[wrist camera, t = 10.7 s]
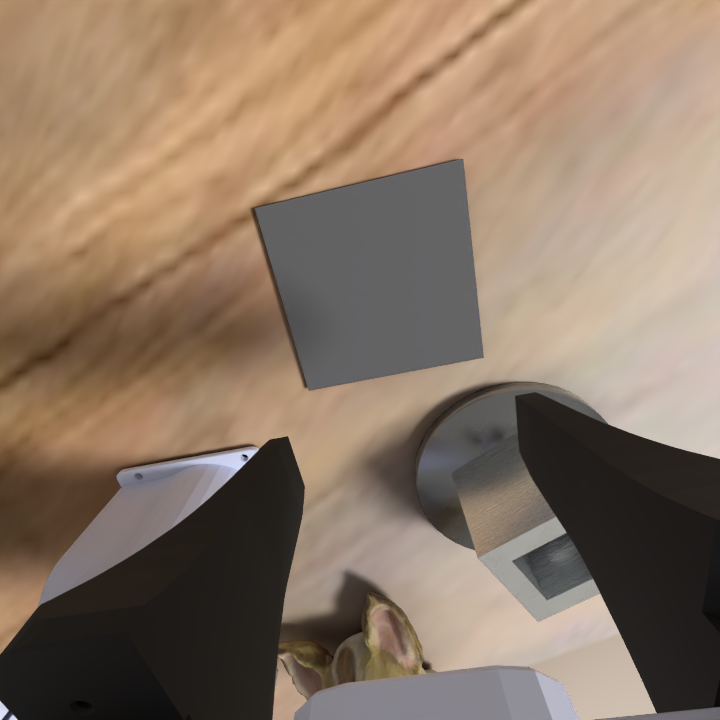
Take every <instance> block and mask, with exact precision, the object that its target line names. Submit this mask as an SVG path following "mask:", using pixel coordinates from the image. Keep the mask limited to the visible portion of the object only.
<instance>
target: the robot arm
mask: <svg viewBox="0 0 720 720" xmlns="http://www.w3.org/2000/svg"><path fill="white" fill-rule="evenodd" d="M515 403H516V417H517V430H518V444H519V452H520V454H521V457H522V459H523V461H524V463H525V465H526V467H527V470H528V472H529V474H530V476H531V478H532V480H533V481H534V483H535V484H536V486H537V488H538V489H539V491H540V492H541V494H542V495H543V497H544V499H545V500H546V502H547V503H548V505H549V506H550V508H551V509H552V511H553V512H554V514H555V516H556V517H557V519H558V520H559V522H560V523H561V525H562V526H563V528H564V529H565V531H566V532H567V534H568V536H569V537H570V539H571V540H572V542H573V543H574V545H575V547H576V548H577V550H578V552H579V553H580V555H581V557H582V559H583V561H584V562H585V564H586V566H587V568H588V570H589V572H590V574H591V576H592V578H593V580H594V582H595V584H596V586H597V588H598V590H599V591H600V593H601V595H602V598H603V600H604V602H605V604H606V606H607V608H608V610H609V612H610V614H611V616H612V618H613V620H614V622H615V624H616V626H617V628H618V630H619V632H620V634H621V636H622V638H623V640H624V642H625V645H626V647H627V649H628V651H629V653H630V655H631V657H632V660H633V662H634V664H635V666H636V668H637V670H638V672H639V674H640V677H641V679H642V681H643V683H644V685H645V688H646V690H647V692H648V694H649V697H650V699H651V701H652V703H653V706H654V708H655V710H656V712H657V714H646V715H636V716H626V717H616V718H606V719H596V720H720V459H717V458H713V457H709V456H705V455H701V454H697V453H693V452H689V451H685V450H682V449H678V448H674V447H671V446H668V445H665V444H661V443H658V442H655V441H652V440H649V439H646V438H643V437H640V436H637V435H634V434H631V433H629V432H626V431H623V430H621V429H618V428H616V427H613V426H611V425H608V424H606V423H603V422H601V421H599V420H596V419H594V418H592V417H589V416H587V415H585V414H583V413H580V412H578V411H576V410H574V409H572V408H570V407H567V406H565V405H563V404H561V403H559V402H557V401H555V400H553V399H550V398H548V397H546V396H544V395H542V394H539V393H537V392H533V393H528V394H522V395H516V396H515ZM242 454H245V455H247V456H248V457H247V458H246V457H243V456H242ZM138 473H140V474H141V475H142V476H141V475H139V474H138ZM116 478H117V481H118V482H119V484H120V486H121V488H120V490H119V491H118V492H117V493H116V494H115V495H114V497H113V498H112V499H111V500H110V501H109V502H108V504H107V505H106V506H105V507H104V508H103V509H102V510H101V512H100V513H99V514H98V515H97V516H96V517H95V519H94V520H93V521H92V522H91V523H90V524H89V526H88V527H87V528H86V529H85V530H84V531H83V533H82V534H81V535H80V536H79V537H78V538H77V540H76V541H75V542H74V543H73V544H72V545H71V547H70V548H69V549H68V550H67V551H66V552H65V554H64V555H63V556H62V557H61V558H60V560H59V561H58V562H57V564H56V565H55V566H54V568H53V570H52V572H51V573H50V575H49V577H48V579H47V582H46V584H45V586H44V589H43V592H42V595H41V598H40V602H39V606H38V608H37V609H36V611H35V612H34V613H33V614H32V616H31V617H30V618H29V619H28V621H27V622H26V623H25V624H24V626H23V627H22V628H21V629H20V631H19V632H18V633H17V634H16V636H15V637H14V638H13V640H12V641H11V642H10V643H9V645H8V646H7V647H6V648H5V650H4V651H3V652H2V653H1V655H0V720H272V715H273V703H274V691H275V678H276V667H277V658H278V648H279V638H280V629H281V621H282V613H283V605H284V598H285V592H286V587H287V582H288V577H289V573H290V569H291V564H292V560H293V556H294V551H295V547H296V542H297V538H298V533H299V529H300V524H301V520H302V514H303V504H304V490H305V486H304V483H303V480H302V477H301V474H300V471H299V468H298V465H297V462H296V459H295V456H294V453H293V450H292V447H291V444H290V441H289V438H288V437H282V438H276V439H271V440H269V441H268V442H267V443H265V444H264V445H263V446H262V447H261V448H260V449H258V448H257V447H245V448H240V449H234V450H229V451H223V452H217V453H212V454H206V455H201V456H195V457H189V458H184V459H178V460H172V461H167V462H161V463H156V464H150V465H144V466H139V467H133V468H128V469H123V470H121V471H120V472H119V473H118V474H117V476H116ZM294 720H579V717H578V715H577V713H576V710H575V708H574V705H573V703H572V701H571V699H570V697H569V695H568V693H567V691H566V689H565V687H564V686H563V684H562V683H560V682H559V681H557V680H555V679H553V678H551V677H549V676H547V675H544V674H542V673H540V672H538V671H536V670H534V669H532V668H530V667H517V666H487V667H479V668H470V669H461V670H453V671H444V672H436V673H427V674H418V675H410V676H401V677H393V678H384V679H375V680H367V681H358V682H350V683H344V684H340V685H337V686H334V687H330V688H327V689H324V690H320V691H317V692H316V693H315V694H314V695H313V696H312V697H311V698H310V699H309V700H308V701H307V702H306V703H305V704H304V705H303V706H302V707H301V708H300V709H298V710H297V711H296V712H295V715H294Z"/></svg>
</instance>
